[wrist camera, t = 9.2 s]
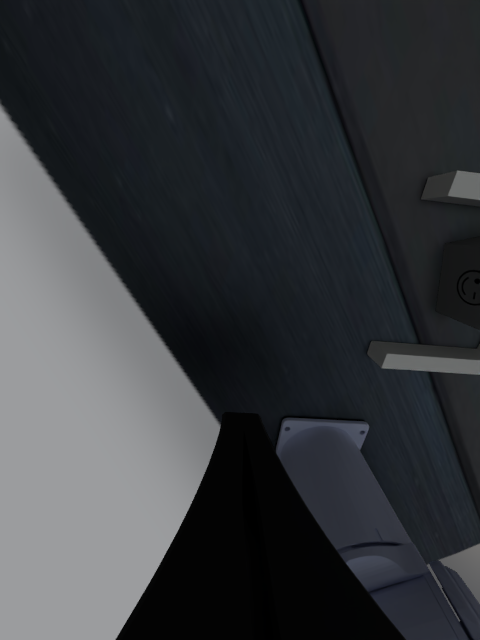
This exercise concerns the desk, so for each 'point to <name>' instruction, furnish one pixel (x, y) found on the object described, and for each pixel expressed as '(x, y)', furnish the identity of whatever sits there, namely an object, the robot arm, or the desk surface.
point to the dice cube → (460, 282)
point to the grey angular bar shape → (429, 357)
